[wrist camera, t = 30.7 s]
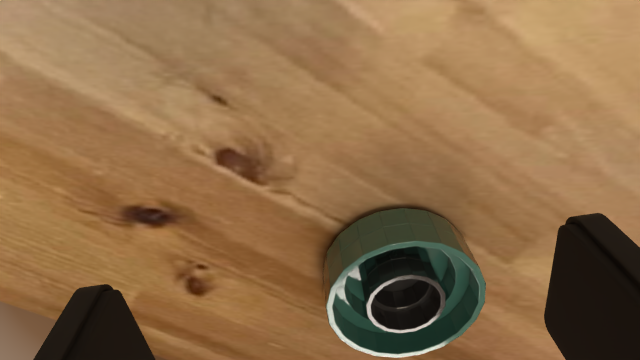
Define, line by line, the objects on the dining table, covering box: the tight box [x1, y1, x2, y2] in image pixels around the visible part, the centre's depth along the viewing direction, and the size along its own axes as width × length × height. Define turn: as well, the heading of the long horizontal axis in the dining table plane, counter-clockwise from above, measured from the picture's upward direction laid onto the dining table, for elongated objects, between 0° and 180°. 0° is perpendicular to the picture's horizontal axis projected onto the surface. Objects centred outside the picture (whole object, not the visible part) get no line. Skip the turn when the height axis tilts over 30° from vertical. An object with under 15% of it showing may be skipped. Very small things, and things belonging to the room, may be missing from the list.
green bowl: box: [323, 208, 486, 358], centre depth 41 cm, size 14×14×6 cm
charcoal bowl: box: [360, 246, 446, 333], centre depth 41 cm, size 7×7×5 cm
